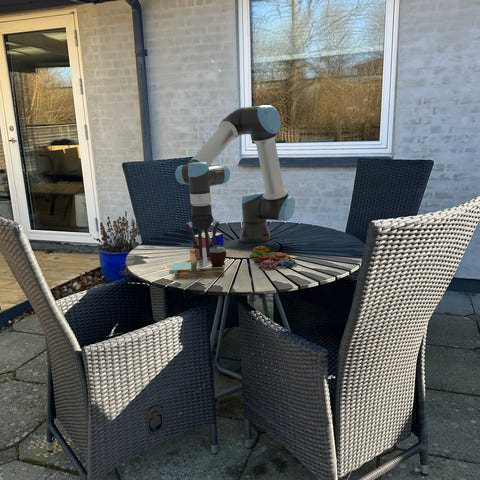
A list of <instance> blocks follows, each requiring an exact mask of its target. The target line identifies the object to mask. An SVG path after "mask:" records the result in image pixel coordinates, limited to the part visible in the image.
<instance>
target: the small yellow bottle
mask: <svg viewBox="0 0 480 480" xmlns="http://www.w3.org/2000/svg"><path fill="white" fill-rule="evenodd" d="M189 256H190V262H191V268H190V269H189V273H190V272H200V268H201V267H199V268H198V267H197V262H198V259H197V255H196V249H193V248H190V249H189Z"/></svg>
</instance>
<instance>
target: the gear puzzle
mask: <svg viewBox="0 0 480 480" xmlns="http://www.w3.org/2000/svg"><path fill="white" fill-rule="evenodd" d="M251 251H252V253H251V254H250V255H249V258H251V260H252V261H253V263H256V265H257V266H258V268H260V270H261V271H263V272H265V271H269V270H273V269H274V270H280V269H287V267H288V268H289V267H291V268H295V267H298V265H299V263H298V261H296V260H295V259H293V258H292V257H291V256H290V255H288V254H287V253H284V252H282V251H279V252H275V251H272V252H270V251H271V249H270V248H269V247H266V246H264V245H257V246H255V247H254V248H252V249H251ZM268 252H269V253H268Z"/></svg>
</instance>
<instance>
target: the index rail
mask: <svg viewBox="0 0 480 480" xmlns="http://www.w3.org/2000/svg"><path fill="white" fill-rule="evenodd" d="M199 268H200V272H190V273H189V269H181V270H176V271H175V273H174V278H176V279H178V280H180V279H196V278H197V279H198V278H211V277H224V276H225V267H224V266H223V267H214V268H212V267H202V268H201V267H199Z"/></svg>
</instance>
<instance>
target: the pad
mask: <svg viewBox="0 0 480 480" xmlns="http://www.w3.org/2000/svg"><path fill="white" fill-rule="evenodd" d="M197 267H198V268H200V261H197ZM190 268H191V261H186V262H185V261H184V262H183V261H182V262H172V265H171V266H170V269H169V274H175V271H176V270H181V269H190Z"/></svg>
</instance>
